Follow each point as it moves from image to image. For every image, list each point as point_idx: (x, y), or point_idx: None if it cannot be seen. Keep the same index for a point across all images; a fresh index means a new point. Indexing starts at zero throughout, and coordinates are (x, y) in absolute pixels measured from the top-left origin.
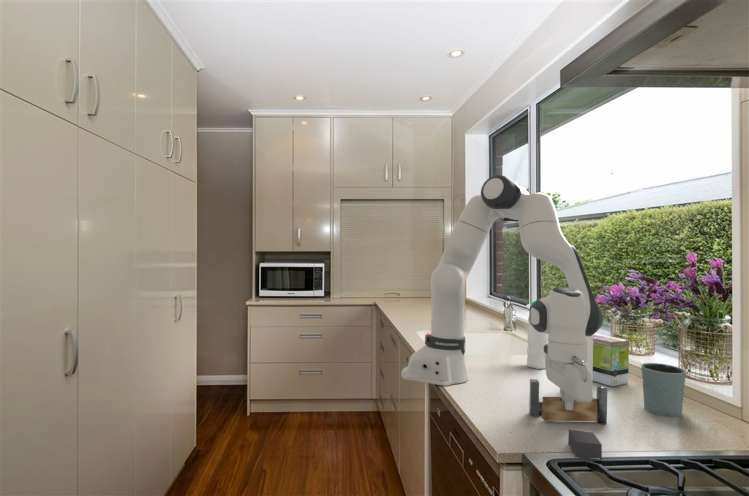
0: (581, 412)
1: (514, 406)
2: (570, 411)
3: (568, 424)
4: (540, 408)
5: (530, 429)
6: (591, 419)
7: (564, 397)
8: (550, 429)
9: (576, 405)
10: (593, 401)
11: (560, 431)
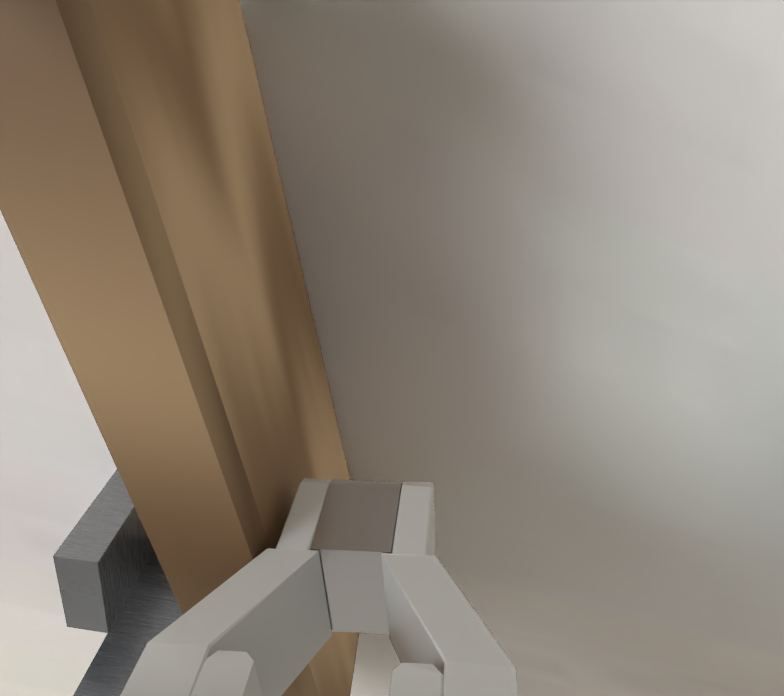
0: (258, 255)
1: (67, 643)
2: (295, 406)
3: (362, 362)
4: (137, 558)
5: (526, 663)
6: (250, 78)
7: (293, 651)
8: (511, 545)
9: (247, 377)
10: (107, 66)
11: (549, 486)
